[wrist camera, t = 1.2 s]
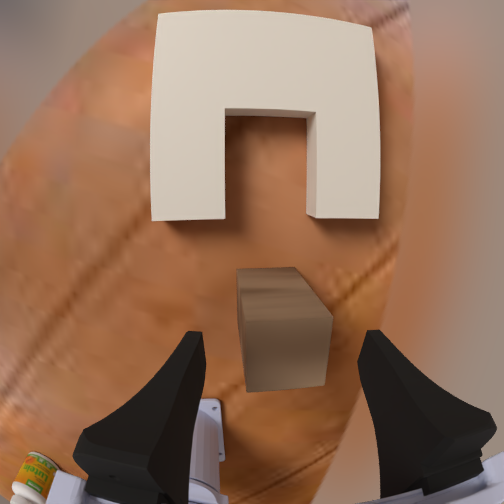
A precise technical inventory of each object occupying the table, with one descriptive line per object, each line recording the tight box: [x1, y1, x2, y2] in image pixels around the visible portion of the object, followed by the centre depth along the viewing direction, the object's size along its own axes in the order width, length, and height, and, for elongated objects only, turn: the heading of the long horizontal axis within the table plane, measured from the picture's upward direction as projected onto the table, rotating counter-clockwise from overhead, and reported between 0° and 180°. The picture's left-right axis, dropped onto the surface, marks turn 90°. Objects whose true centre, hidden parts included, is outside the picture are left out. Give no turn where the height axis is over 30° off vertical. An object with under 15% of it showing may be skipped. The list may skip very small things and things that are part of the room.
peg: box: [237, 267, 333, 392], centre depth 20 cm, size 4×4×9 cm
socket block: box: [150, 10, 380, 221], centre depth 20 cm, size 15×16×2 cm
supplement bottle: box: [10, 452, 60, 504], centre depth 23 cm, size 5×5×10 cm
